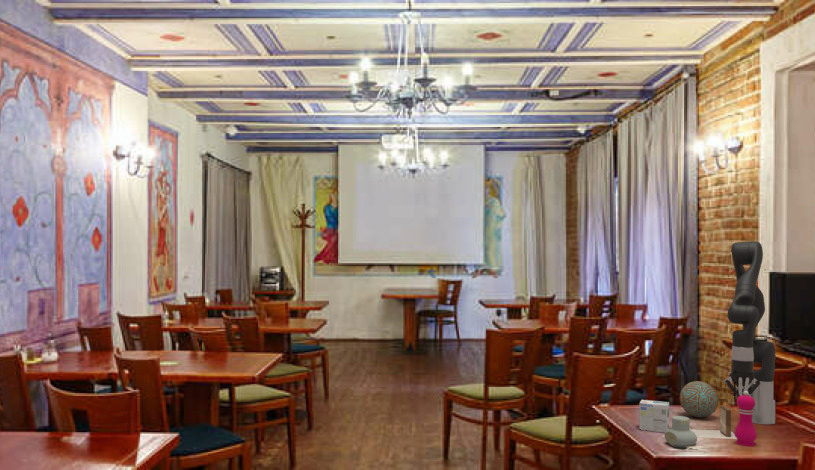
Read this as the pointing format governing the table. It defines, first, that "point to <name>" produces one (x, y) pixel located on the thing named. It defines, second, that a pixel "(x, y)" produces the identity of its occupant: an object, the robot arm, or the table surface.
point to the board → (712, 434)
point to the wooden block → (725, 421)
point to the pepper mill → (745, 421)
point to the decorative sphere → (699, 399)
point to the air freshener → (680, 433)
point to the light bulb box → (654, 416)
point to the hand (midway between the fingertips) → (741, 405)
